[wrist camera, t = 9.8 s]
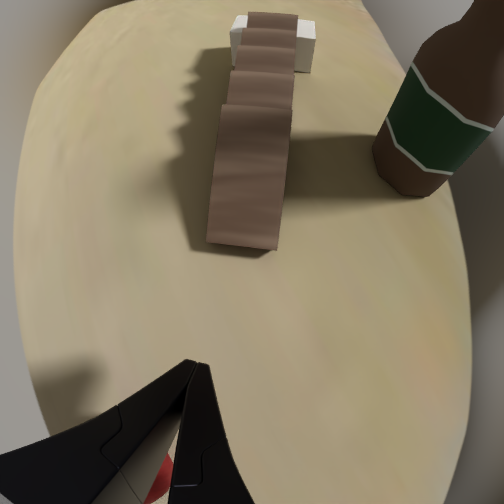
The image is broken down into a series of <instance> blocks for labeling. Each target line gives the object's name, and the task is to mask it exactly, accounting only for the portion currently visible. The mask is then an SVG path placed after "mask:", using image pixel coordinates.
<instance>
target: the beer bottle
mask: <svg viewBox="0 0 504 504" xmlns="http://www.w3.org/2000/svg"><path fill="white" fill-rule="evenodd" d="M503 115H504V0H474V2H473V3H472V5H471V7H470V8H469V10H468V11H467V12H466V14H465V15H464V16H463V17H462V19H461V20H460V21H458V22H456V23H453V24H450V25H448V26H445V27H444V28H442V29H440V30H438V31H437V32H435V33H434V34H433V35H432V36H431V37H430V38H428V39H427V40H426V41H425V42H424V43H423V44H422V46H421V47H420V49H419V51H418V53H417V55H416V57H415V58H414V60H413V62H412V64H411V66H410V68H409V71H408V72H407V75H406V77H405V79H404V81H403V83H402V85H401V88H400V90H399V92H398V94H397V96H396V98H395V100H394V102H393V104H392V106H391V108H390V110H389V112H388V114H387V116H386V118H385V120H384V122H383V124H382V126H381V128H380V130H379V132H378V134H377V136H376V139H375V141H374V144H373V146H372V151H373V154H374V158H375V162H376V166H377V169H378V173H379V175H380V176H381V177H382V178H383V179H384V180H386V181H387V182H388V183H389V184H390V185H391V186H392V187H394V188H395V189H396V190H397V191H398V192H399V193H400V194H401V195H412V196H424V197H427V196H430V195H431V194H432V193H433V192H435V191H436V190H437V189H438V188H439V187H440V186H441V185H442V184H443V183H444V182H445V181H446V180H447V179H448V178H449V177H450V176H451V175H452V174H453V173H454V172H455V171H456V170H457V169H458V168H459V167H460V166H461V165H462V164H463V163H464V161H466V159H467V158H468V157H469V156H470V155H471V154H472V153H473V152H474V151H475V149H477V148H478V146H479V145H480V144H481V143H482V142H483V141H484V140H485V139H486V137H487V136H488V135H489V134H490V133H491V132H492V131H493V130H494V128H495V127H496V125H497V124H498V123H499V121H500V120H501V118H502V117H503Z"/></svg>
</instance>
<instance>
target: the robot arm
mask: <svg viewBox="0 0 504 504" xmlns="http://www.w3.org/2000/svg"><path fill="white" fill-rule="evenodd" d="M178 429H179V433H178V439H177V445H176V451H175V458H174V464H173V470H172V477H171V484H170V490H169V498H168V504H255V503H254V501H253V499H252V497H251V495H250V493H249V491H248V489H247V488H246V486H245V484H244V482H243V480H242V478H241V476H240V474H239V471H238V469H237V467H236V464H235V462H234V459H233V456H232V453H231V450H230V447H229V443H228V440H227V438H226V433H225V429H224V426H223V422H222V418H221V414H220V410H219V406H218V401H217V397H216V393H215V389H214V384H213V380H212V375H211V371H210V366H209V365H208V364H204V363H200V362H198V363H197V362H196V361H193V360H189V359H185V360H184V361H182V362H181V363H179V364H178V365H176V366H175V367H173V368H172V369H170V370H169V371H168V372H166V373H165V374H163V375H162V376H160V377H159V378H157V379H156V380H154V381H153V382H151V383H150V384H148V385H147V386H145V387H144V388H142V389H141V390H139V391H138V392H136V393H135V394H133V395H131V396H130V397H128V398H127V399H125V400H124V401H122V402H121V403H119V404H118V406H117V405H115V406H114V407H112V408H110V409H109V410H107V411H105V412H104V413H102V414H100V415H99V416H97V417H95V418H93V419H91V420H89V421H86V422H84V423H82V424H80V425H78V426H75V427H73V428H71V429H68V430H66V431H63V432H61V433H58V434H56V435H53V436H51V437H49V438H46V439H43V440H41V441H38V442H35V443H33V444H30V445H27V446H25V447H22V448H19V449H16V450H13V451H10V452H7V453H4V454H1V455H0V504H143V503H144V501H145V499H146V497H147V495H148V493H149V491H150V488H151V486H152V484H153V482H154V480H155V478H156V476H157V474H158V472H159V469H160V467H161V465H162V463H163V461H164V459H165V457H166V455H167V452H168V450H169V448H170V446H171V444H172V442H173V440H174V438H175V435H176V433H177V431H178Z"/></svg>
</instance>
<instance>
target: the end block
mask: <svg viewBox="0 0 504 504" xmlns="http://www.w3.org/2000/svg"><path fill="white" fill-rule="evenodd" d="M247 19H248V16H241V15H238V16H237V18H236V20H235V22H234V24H233V26H232V28H231V31H230V43H231V55H232V66H235V61H236V54H237V47H238V45H241V37H242V29H243V28H247ZM315 40H316V36H315V22H314V21H307V20H299V19H298V25H297V39H296V54H295V66H294V71H299V72H307V73H310V71H311V65H312V59H313V53H314V47H315Z"/></svg>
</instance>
